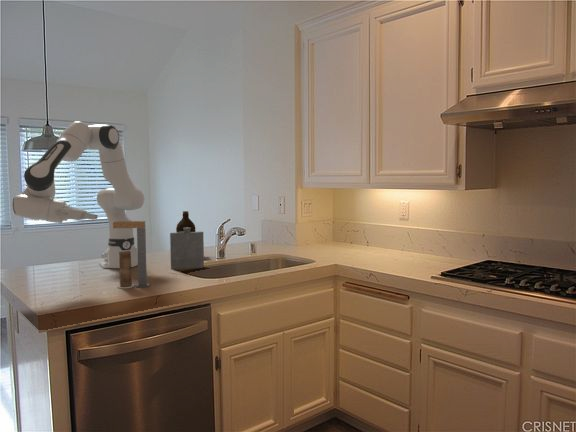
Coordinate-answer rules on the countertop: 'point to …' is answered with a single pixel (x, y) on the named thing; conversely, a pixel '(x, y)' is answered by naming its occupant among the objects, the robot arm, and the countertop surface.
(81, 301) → the countertop surface
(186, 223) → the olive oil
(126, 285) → the brown tall wooden block
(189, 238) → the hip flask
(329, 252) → the countertop surface
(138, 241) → the keeper
